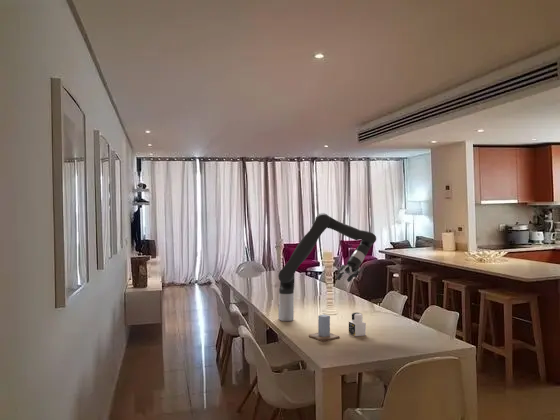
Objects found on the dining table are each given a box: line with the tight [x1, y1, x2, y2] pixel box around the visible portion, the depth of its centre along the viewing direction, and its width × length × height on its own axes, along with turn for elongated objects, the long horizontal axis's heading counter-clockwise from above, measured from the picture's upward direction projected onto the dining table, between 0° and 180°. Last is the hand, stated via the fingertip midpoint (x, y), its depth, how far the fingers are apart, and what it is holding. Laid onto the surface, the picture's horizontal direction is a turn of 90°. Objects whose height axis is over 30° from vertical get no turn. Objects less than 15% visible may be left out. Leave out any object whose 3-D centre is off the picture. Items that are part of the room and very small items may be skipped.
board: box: [308, 332, 340, 343], centre depth 251 cm, size 12×12×1 cm
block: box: [317, 313, 331, 337], centre depth 251 cm, size 4×4×11 cm
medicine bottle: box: [348, 312, 367, 337], centre depth 257 cm, size 7×7×12 cm
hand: (342, 280), depth 269 cm, fingers open, 8 cm apart
